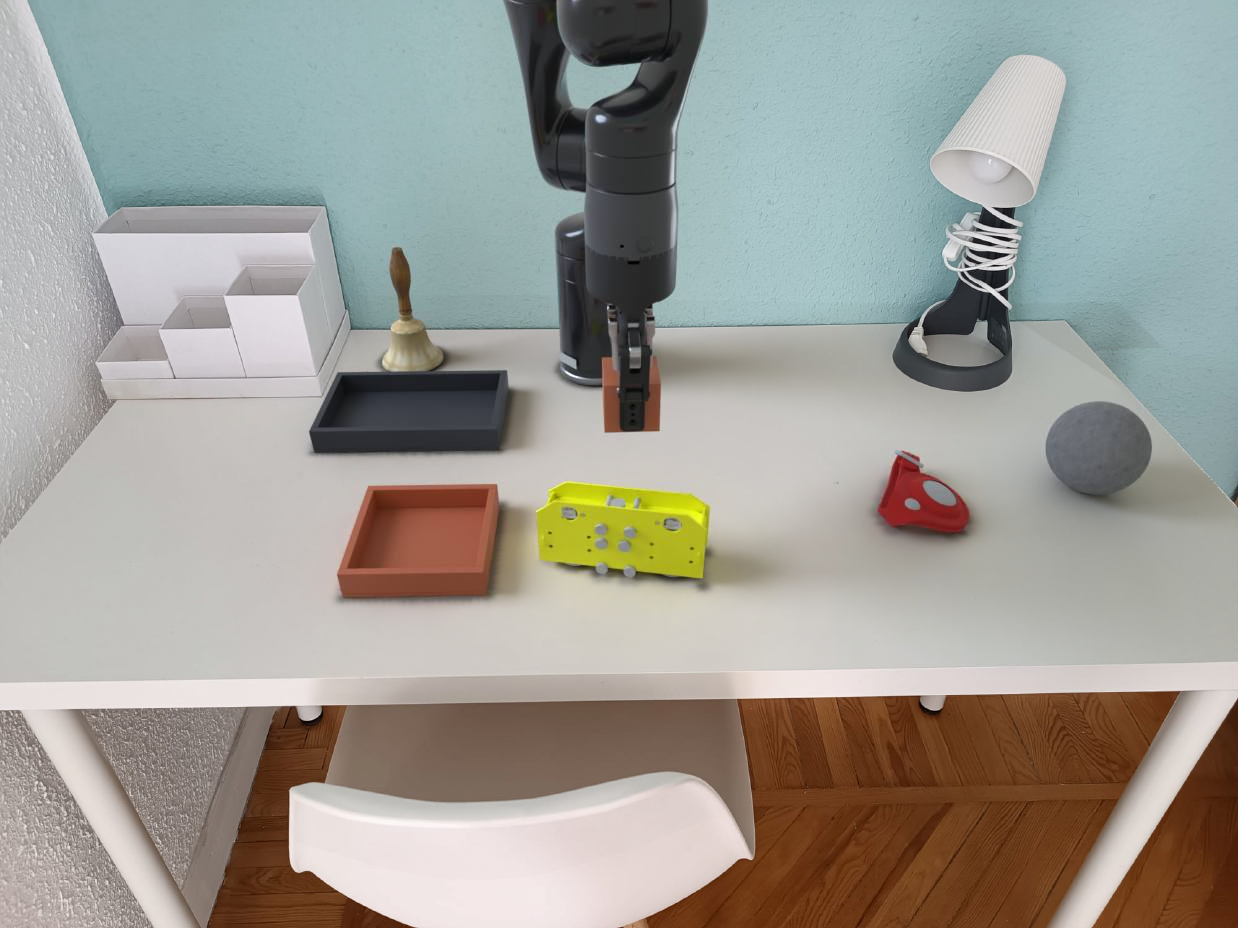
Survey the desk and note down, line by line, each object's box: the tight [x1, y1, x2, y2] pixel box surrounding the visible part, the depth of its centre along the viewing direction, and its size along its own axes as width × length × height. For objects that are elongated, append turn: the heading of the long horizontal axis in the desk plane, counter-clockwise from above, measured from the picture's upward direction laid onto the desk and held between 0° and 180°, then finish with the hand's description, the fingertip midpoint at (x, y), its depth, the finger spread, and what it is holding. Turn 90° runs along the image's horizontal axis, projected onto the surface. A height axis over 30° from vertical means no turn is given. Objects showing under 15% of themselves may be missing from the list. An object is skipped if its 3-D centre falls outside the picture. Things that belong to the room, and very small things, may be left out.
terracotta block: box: [602, 355, 662, 434], centre depth 79 cm, size 5×5×5 cm
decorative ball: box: [1045, 400, 1153, 496], centre depth 93 cm, size 10×10×10 cm
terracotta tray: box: [336, 483, 501, 598], centre depth 87 cm, size 14×14×3 cm
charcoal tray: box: [308, 369, 510, 454], centre depth 107 cm, size 14×22×3 cm, turn 91°
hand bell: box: [381, 246, 445, 372], centre depth 115 cm, size 8×8×16 cm
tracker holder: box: [877, 449, 971, 534], centre depth 92 cm, size 12×4×10 cm
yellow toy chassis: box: [535, 480, 711, 579], centre depth 84 cm, size 16×6×8 cm, turn 80°
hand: (630, 411), depth 80 cm, fingers closed on terracotta block, 5 cm apart
